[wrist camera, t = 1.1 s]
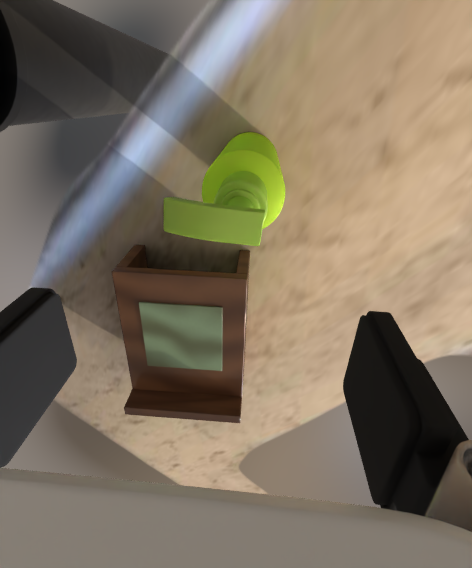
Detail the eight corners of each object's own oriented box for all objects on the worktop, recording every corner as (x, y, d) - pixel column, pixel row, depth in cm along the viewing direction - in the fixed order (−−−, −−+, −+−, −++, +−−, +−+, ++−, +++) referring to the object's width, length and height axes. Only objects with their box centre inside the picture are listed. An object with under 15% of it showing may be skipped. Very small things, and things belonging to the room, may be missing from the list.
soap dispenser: (214, 127, 33) (161, 158, 16) (282, 136, 33) (304, 178, 16) (210, 186, 36) (160, 267, 19) (272, 194, 36) (281, 283, 19)
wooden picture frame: (134, 244, 40) (98, 285, 31) (249, 250, 40) (246, 294, 31) (150, 357, 49) (125, 414, 40) (244, 363, 48) (240, 423, 40)
